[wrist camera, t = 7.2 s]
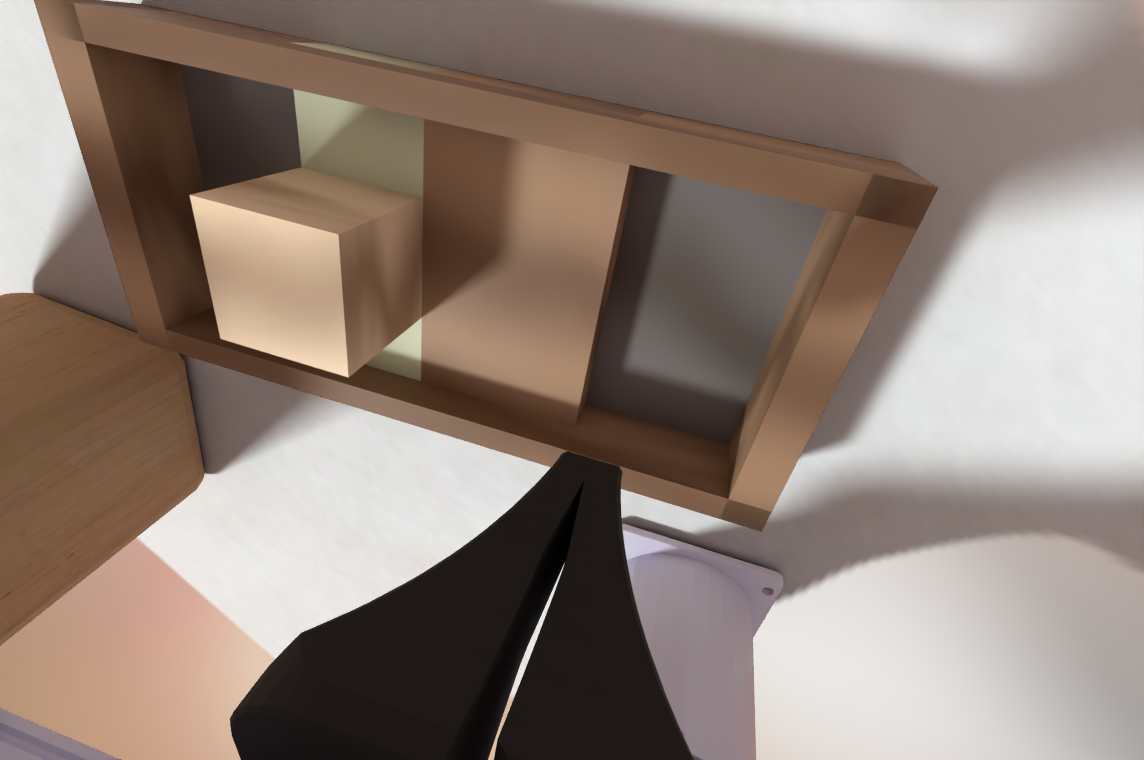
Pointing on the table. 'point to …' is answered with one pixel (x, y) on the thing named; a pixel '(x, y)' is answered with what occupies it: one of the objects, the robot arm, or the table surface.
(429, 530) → the table surface
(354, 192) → the maple block
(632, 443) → the box
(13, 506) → the wooden block
